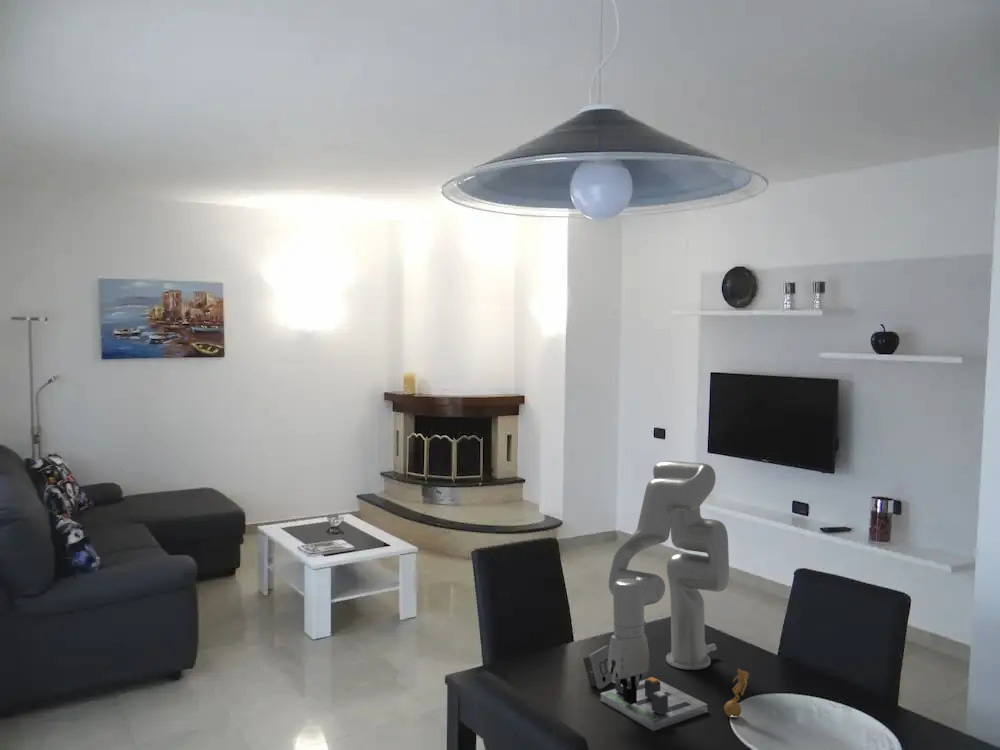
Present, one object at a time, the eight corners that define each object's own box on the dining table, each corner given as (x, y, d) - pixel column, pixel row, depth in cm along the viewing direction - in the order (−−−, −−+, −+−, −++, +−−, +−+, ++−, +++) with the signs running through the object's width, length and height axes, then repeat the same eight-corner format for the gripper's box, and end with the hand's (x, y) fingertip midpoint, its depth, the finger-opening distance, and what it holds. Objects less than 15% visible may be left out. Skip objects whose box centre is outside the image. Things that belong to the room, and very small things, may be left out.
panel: (652, 684, 217) (652, 676, 217) (707, 712, 200) (707, 703, 200) (600, 700, 208) (600, 692, 208) (653, 731, 191) (652, 722, 191)
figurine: (720, 709, 201) (720, 662, 201) (745, 709, 201) (744, 662, 201) (728, 724, 193) (727, 675, 193) (753, 725, 193) (753, 675, 192)
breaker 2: (659, 707, 198) (659, 690, 198) (667, 712, 195) (667, 694, 195) (651, 710, 196) (651, 692, 196) (660, 714, 194) (660, 696, 194)
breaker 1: (622, 687, 210) (622, 671, 210) (630, 691, 207) (630, 675, 207) (615, 690, 208) (615, 673, 208) (622, 694, 206) (622, 677, 206)
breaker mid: (652, 693, 206) (652, 676, 206) (660, 697, 203) (660, 680, 203) (645, 696, 205) (644, 678, 204) (653, 700, 202) (652, 682, 202)
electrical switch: (600, 690, 214) (596, 656, 214) (584, 688, 217) (580, 653, 218) (618, 679, 221) (614, 645, 222) (602, 676, 225) (598, 643, 225)
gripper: (641, 619, 207) (642, 689, 207) (595, 631, 199) (597, 703, 199) (661, 628, 200) (662, 700, 201) (615, 640, 192) (616, 715, 193)
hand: (630, 701), depth 200 cm, fingers closed
